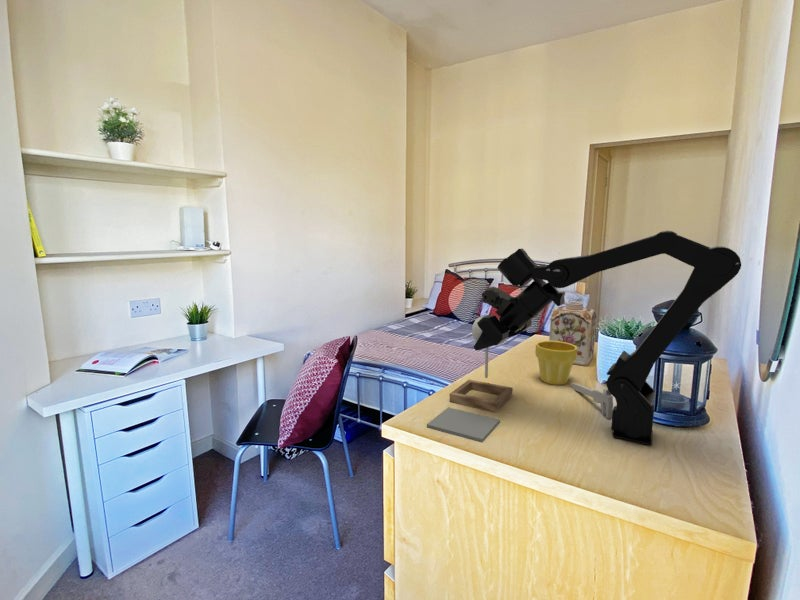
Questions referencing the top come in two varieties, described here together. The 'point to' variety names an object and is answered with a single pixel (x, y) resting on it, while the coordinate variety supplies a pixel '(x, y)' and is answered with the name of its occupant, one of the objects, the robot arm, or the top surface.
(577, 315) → the decorative jar
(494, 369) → the top surface
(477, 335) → the lollipop
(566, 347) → the plant pot
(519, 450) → the top surface
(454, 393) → the brown wooden square frame
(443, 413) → the mat
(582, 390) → the caliper
